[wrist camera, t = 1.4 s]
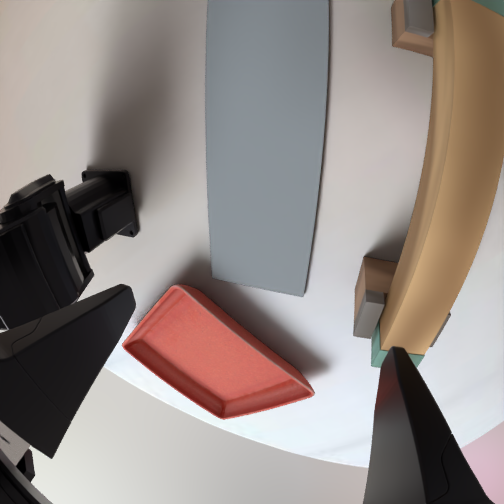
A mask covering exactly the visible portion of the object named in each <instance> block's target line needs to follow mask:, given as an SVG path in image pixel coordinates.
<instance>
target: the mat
mask: <svg viewBox="0 0 504 504" xmlns="http://www.w3.org/2000/svg"><path fill="white" fill-rule="evenodd" d="M328 52H329V0H208V7H207V31H206V75H205V121H206V169H207V196H208V217H209V236H210V252H211V267H212V278H213V279H218V280H222V281H227V282H232V283H236V284H241V285H245V286H250V287H255V288H260V289H264V290H269V291H274V292H279V293H284V294H289V295H294V296H299V297H303V296H304V291H305V285H306V279H307V273H308V266H309V260H310V253H311V246H312V239H313V232H314V225H315V217H316V209H317V201H318V192H319V183H320V174H321V164H322V154H323V142H324V130H325V116H326V101H327V81H328Z"/></svg>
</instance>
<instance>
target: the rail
mask: <svg viewBox="0 0 504 504" xmlns="http://www.w3.org/2000/svg"><path fill="white" fill-rule="evenodd" d="M432 9H433V22H434V33H433V86H432V101H431V112H430V122H429V130H428V138H427V145H426V151H425V157H424V163H423V169H422V174H421V179H420V184H419V189H418V193H417V198H416V202H415V206H414V210H413V214H412V218H411V222H410V226H409V229H408V233H407V237H406V240H405V243H404V247H403V250H402V253H401V257H400V260H399V263H398V266H397V269H396V272H395V275H394V278H393V281H392V283H391V286H390V289H389V292H388V294H387V297H386V300H385V302H384V303H385V305H384V308H383V310H382V313H381V315H380V318H379V320H378V322H377V325H376V327H375V329H374V332H373V334H372V353H371V366H372V367H380V368H381V365H382V362H383V360H384V358H385V357H386V355H387V353H388V351H389V349H390V348H391V347H392V346H398V347H403V348H405V350H406V351H407V353H408V354H409V356H410V358H411V359H412V361H413V363H414V364H415V366H416V368H417V367H418V365H419V364H420V362H421V361H422V359H423V358H424V356H425V355H424V354H425V353H426V351H427V350H428V348H429V346H430V345H431V343H432V341H433V340H434V338H435V336H436V335H437V333H438V331H439V330H440V328H441V326H442V324H443V323H444V321H445V319H446V317H447V315H448V313H449V312H450V310H451V308H452V306H453V304H454V302H455V300H456V298H457V296H458V294H459V292H460V290H461V288H462V285H463V283H464V281H465V279H466V277H467V274H468V272H469V270H470V267H471V265H472V263H473V260H474V258H475V255H476V253H477V250H478V247H479V245H480V242H481V239H482V236H483V234H484V231H485V228H486V225H487V222H488V218H489V215H490V212H491V208H492V205H493V201H494V198H495V194H496V190H497V186H498V182H499V177H500V173H501V168H502V163H503V157H504V0H432Z"/></svg>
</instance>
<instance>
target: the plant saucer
mask: <svg viewBox="0 0 504 504" xmlns="http://www.w3.org/2000/svg"><path fill="white" fill-rule="evenodd" d="M122 347H123V348H124V349H125V350H126V351H127V352H128V353H129V354H130V355H131V356H133V357H134V358H135V359H136V360H137V361H139V362H140V363H141V364H142V365H144V366H145V367H146V368H147V369H149V370H150V371H151V372H152V373H154V374H155V375H156V376H158V377H159V378H160V379H162V380H163V381H164V382H166V383H167V384H168V385H170V386H171V387H172V388H174V389H175V390H177V391H178V392H179V393H181V394H182V395H184V396H185V397H187V398H188V399H190V400H191V401H193V402H194V403H196V404H197V405H199V406H200V407H202V408H203V409H205V410H206V411H208V412H209V413H211V414H213V415H214V416H216V417H218V418H220V419H223V420H225V419H230V418H235V417H240V416H244V415H249V414H253V413H257V412H261V411H265V410H269V409H273V408H277V407H280V406H284V405H287V404H290V403H294V402H297V401H301V400H304V399H307V398H310V397H312V396H314V394H315V392H314V390H313V388H312V387H311V385H310V384H309V382H308V381H307V380H306V379H305V378H304V376H303V375H302V374H301V373H300V372H299V371H298V370H297V369H296V368H295V367H293V366H292V365H291V364H290V363H288V362H287V361H286V360H284V359H283V358H282V357H280V356H279V355H278V354H276V353H275V352H274V351H272V350H271V349H270V348H269V347H267V346H266V345H265V344H264V343H262V342H261V341H260V340H259V339H257V338H256V337H255V336H254V335H252V334H251V333H250V332H249V331H247V330H246V329H245V328H244V327H242V326H241V325H240V324H239V323H238V322H236V321H235V320H234V319H233V318H231V317H230V316H229V315H228V314H227V313H226V312H224V311H223V310H222V309H221V308H220V307H219V306H217V305H216V304H215V303H214V302H213V301H212V300H210V299H209V298H208V297H207V296H206V295H205V294H203V293H202V292H201V291H200V290H198V289H196V288H193V287H190V286H187V285H181V284H179V285H172V286H171V287H170V288H169V289H168V290H167V292H166V293H165V294H164V295H163V296H162V297H161V298H160V299H159V301H158V302H157V303H156V304H155V305H154V306H153V307H152V309H151V310H150V311H149V312H148V313H147V314H146V315H145V317H144V318H143V319H142V320H141V322H140V323H139V324H138V325H137V326H136V328H135V329H134V330H133V331H132V333H131V334H130V335H129V336H128V337H127V339H126V340H125V341H124V342H123V343H122Z"/></svg>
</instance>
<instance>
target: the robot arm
mask: <svg viewBox="0 0 504 504" xmlns="http://www.w3.org/2000/svg"><path fill="white" fill-rule="evenodd" d="M123 175H124V176H123ZM82 181H83V183H81V184H79V185H77V186H75V187H73V188H71V189H69V190H67V191H65V189H64V186H65V185H64V181H63V180H59V181H55V179H53V177H52V176H51V175H50V174H49V175H46V176H44V177H41V178H39V179H37V180H35V181H33V182H31V183H29V184H28V185H26V186H24V187H23V188H21V189H19V190H18V191H16V192H15V193H13V194H11V197H10V199H9V202H8V203H7V204H6V205H5V206H4V208H2V209H1V210H0V330H8V331H5V332H2V333H0V504H52V503H51V502H50V501H49V500H48V499H47V498H46V497H45V496H44V495H43V494H41V493H40V492H39V491H38V490H37V489H36V488H35V487H34V486H33V485H32V484H31V483H30V482H31V481H32V479H33V478H34V476H35V471H34V465H33V457H32V451H31V450H30V449H29V447H30V445H31V446H32V447H34V448H35V449H37V450H38V451H40V452H41V453H42V454H44V455H45V456H47V457H48V458H50V459H52V458H53V457H54V455H55V453H56V451H57V449H58V447H59V445H60V443H61V441H62V439H63V437H64V435H65V433H66V431H67V429H68V427H69V426H70V424H71V421H72V420H73V418H74V416H75V414H76V412H77V411H78V409H79V407H80V405H81V403H82V401H83V400H84V398H85V396H86V395H87V393H88V391H89V389H90V387H91V386H92V384H93V383H94V381H95V379H96V377H97V376H98V374H99V372H100V371H101V369H102V367H103V366H104V364H105V363H106V361H107V359H108V358H109V356H110V354H111V353H112V351H113V350H114V348H115V346H116V345H117V343H118V341H119V340H120V338H121V336H122V334H123V332H124V330H125V328H126V326H127V324H128V322H129V320H130V318H131V316H132V314H133V312H134V310H135V308H136V302H135V299H134V295H133V292H132V289H131V287H130V286H127V285H124V284H119V285H117V286H114V287H112V288H109V289H107V290H105V291H102V292H100V293H97V294H95V295H93V296H90V297H88V298H85V299H83V300H81V301H78V302H77V300H78V299H79V297H80V296H81V294H82V293H83V291H84V290H85V288H86V287H87V285H88V284H89V282H90V281H91V279H92V278H93V276H94V273H93V270H92V269H91V268H90V265H89V263H88V260H87V257H86V255H85V254H86V253H90V252H91V251H92V250H94V249H95V248H96V247H98V246H99V245H100V244H102V243H103V242H104V241H107V240H108V239H110V238H111V237H113V236H114V235H115V234H118V235H123V236H128V237H135V236H136V235H137V234H138V230H137V224H136V218H135V212H134V206H133V199H132V192H131V185H130V177H129V173H128V171H126V170H85V171H83V172H82ZM132 231H133V232H132ZM451 433H452V432H451V430H450V428H449V426H448V424H447V422H446V420H445V418H444V416H443V414H442V412H441V410H440V409H439V407H438V405H437V403H436V401H435V399H434V397H433V396H432V394H431V392H430V390H429V389H428V387H427V385H426V383H425V381H424V380H423V378H422V376H421V375H420V373H419V371H418V369H417V368H416V366H415V364H414V363H413V361H412V359H411V358H410V356H409V354H408V353H407V351H406V350H405V348H403V347H398V346H392V347H391V348H390V349H389V351H388V353H387V355H386V357H385V358H384V360H383V362H382V365H381V370H380V377H379V385H378V391H377V398H376V404H375V410H374V423H373V435H372V446H371V455H370V463H369V471H368V477H367V484H366V489H365V495H364V501H363V504H495V503H493V502H492V501H491V500H490V499H489V498H488V497H487V495H486V494H485V492H484V490H483V489H482V487H481V485H480V484H479V481H478V480H477V478H476V477H475V475H474V473H473V471H472V470H471V468H470V466H469V464H468V463H467V461H466V459H465V457H464V456H463V453H462V452H461V450H460V448H459V446H458V444H457V442H456V440H455V438H454V436H453V434H451Z"/></svg>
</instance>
